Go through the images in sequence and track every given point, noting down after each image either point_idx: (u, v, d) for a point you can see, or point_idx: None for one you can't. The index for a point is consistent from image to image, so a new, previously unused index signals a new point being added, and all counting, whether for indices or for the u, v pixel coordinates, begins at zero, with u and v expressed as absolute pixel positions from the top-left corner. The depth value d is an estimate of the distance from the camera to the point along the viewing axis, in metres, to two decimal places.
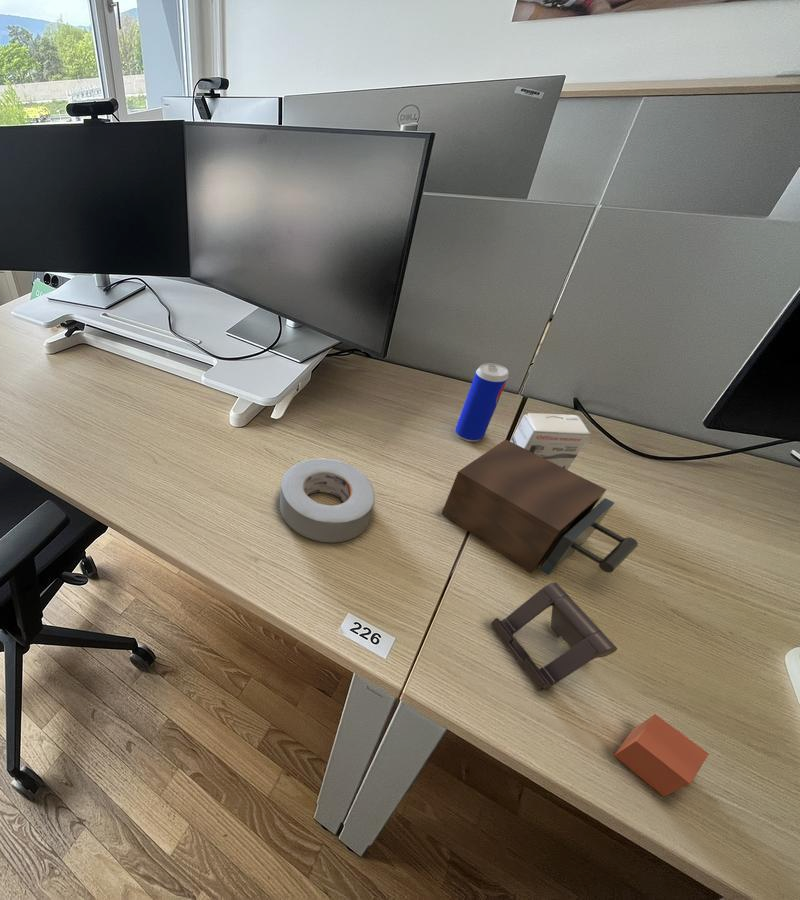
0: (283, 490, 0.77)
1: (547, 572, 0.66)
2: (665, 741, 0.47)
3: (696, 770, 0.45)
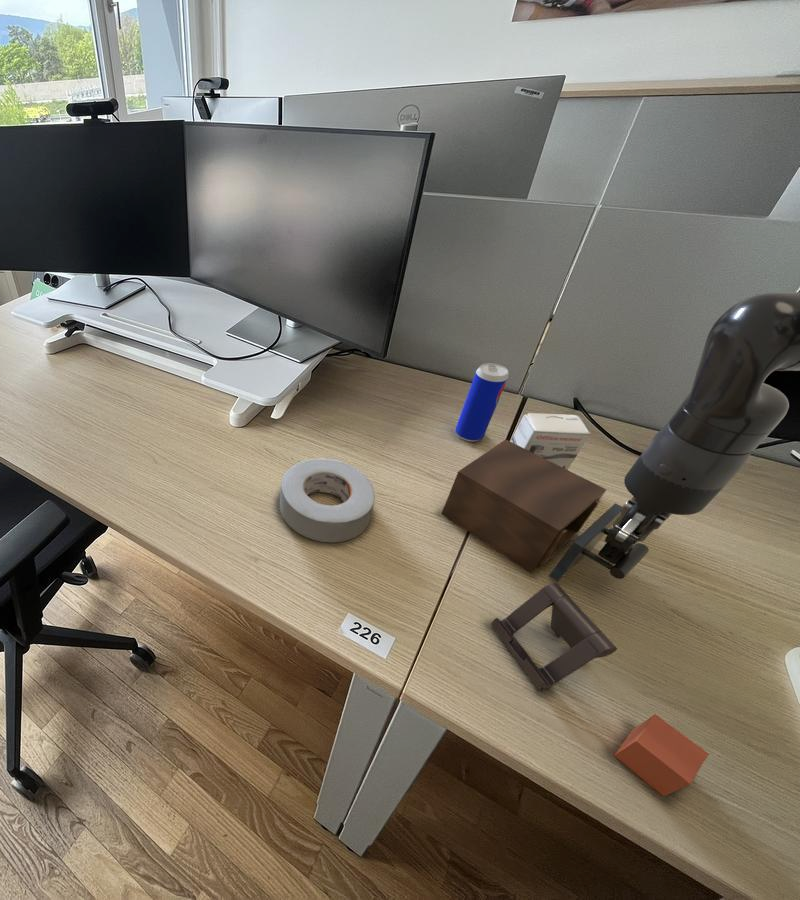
0: (283, 490, 0.77)
1: (556, 578, 0.66)
2: (665, 741, 0.47)
3: (696, 770, 0.45)
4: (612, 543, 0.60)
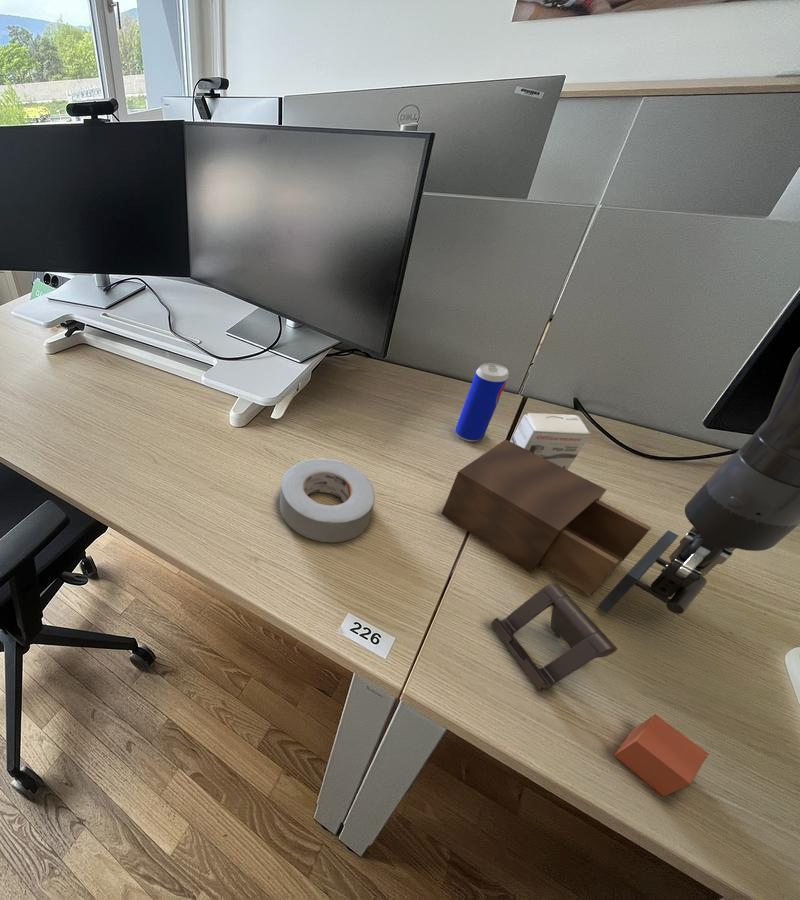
0: (283, 490, 0.77)
1: (605, 610, 0.61)
2: (665, 741, 0.47)
3: (696, 770, 0.45)
4: (669, 577, 0.56)
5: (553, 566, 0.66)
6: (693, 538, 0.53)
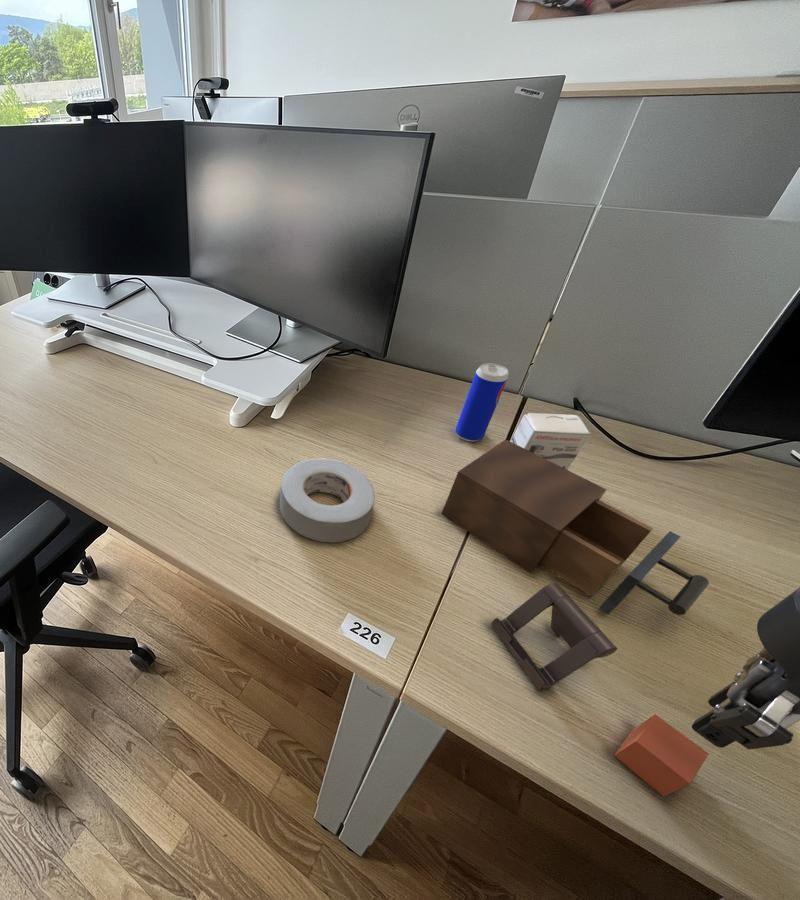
0: (283, 490, 0.77)
1: (607, 611, 0.61)
2: (665, 741, 0.47)
3: (696, 770, 0.45)
4: (724, 730, 0.38)
5: (554, 567, 0.66)
6: (770, 671, 0.36)
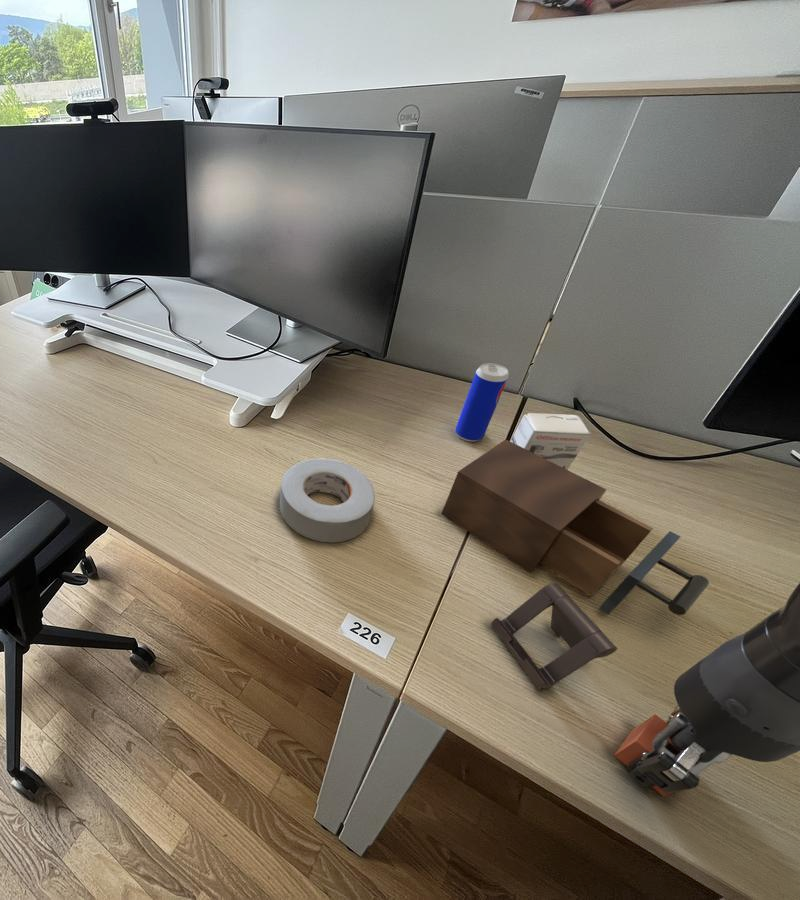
0: (283, 490, 0.77)
1: (607, 611, 0.61)
2: None
3: None
4: (647, 776, 0.45)
5: (554, 567, 0.66)
6: (684, 724, 0.43)
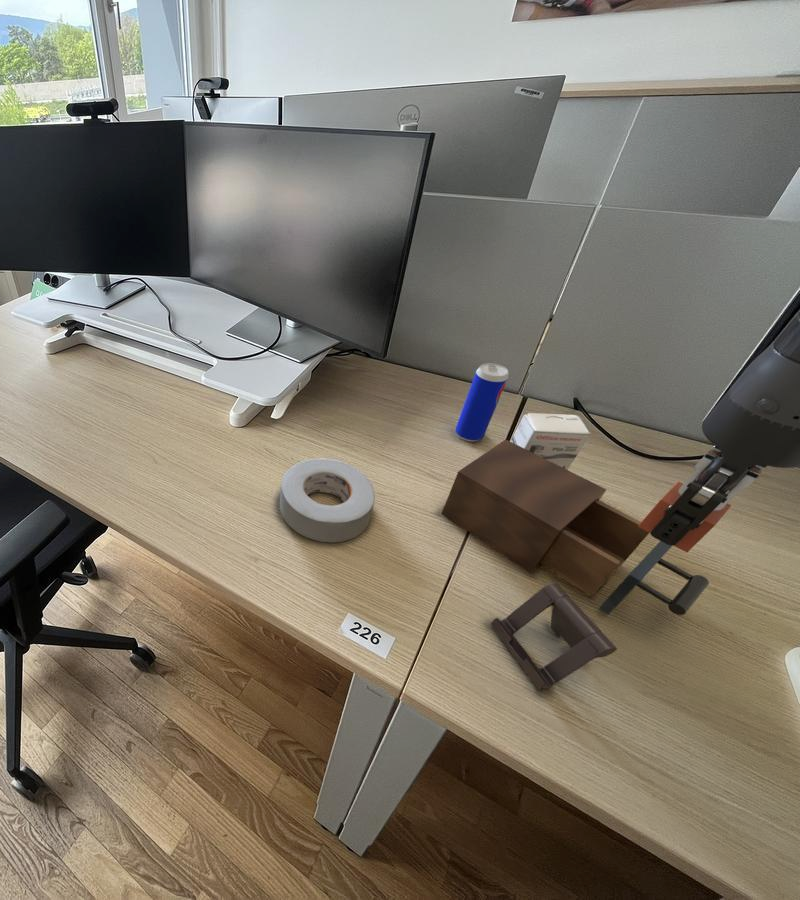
0: (283, 490, 0.77)
1: (607, 611, 0.61)
2: None
3: (720, 516, 0.47)
4: (674, 518, 0.46)
5: (554, 567, 0.66)
6: (711, 460, 0.45)
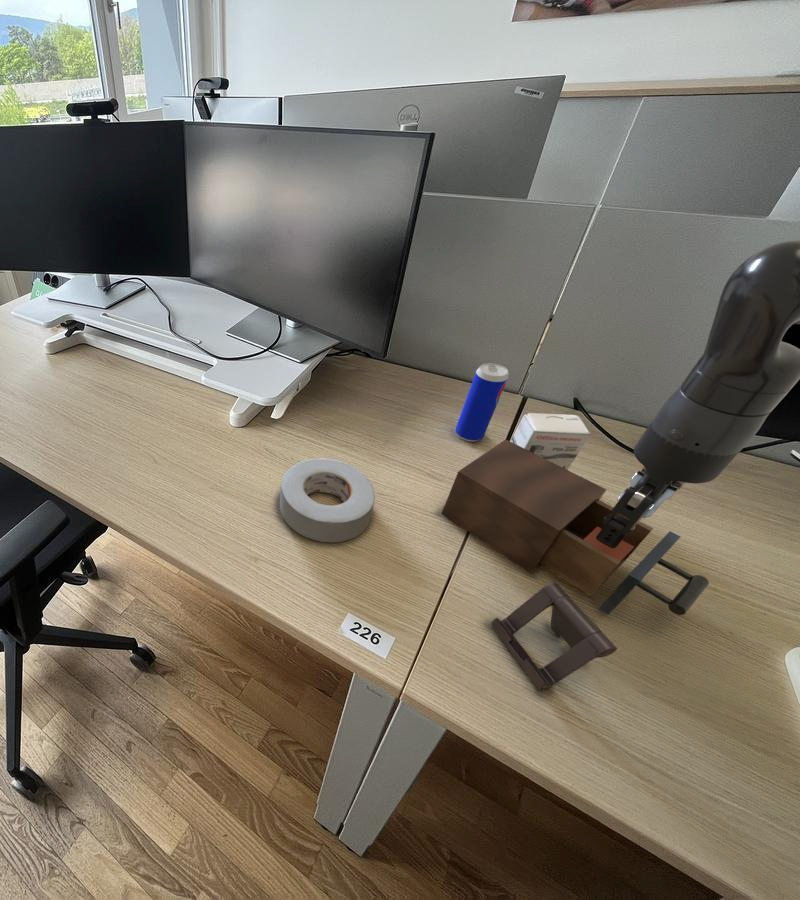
0: (283, 490, 0.77)
1: (607, 611, 0.61)
2: None
3: (624, 555, 0.62)
4: (610, 525, 0.55)
5: (554, 567, 0.66)
6: (642, 476, 0.55)
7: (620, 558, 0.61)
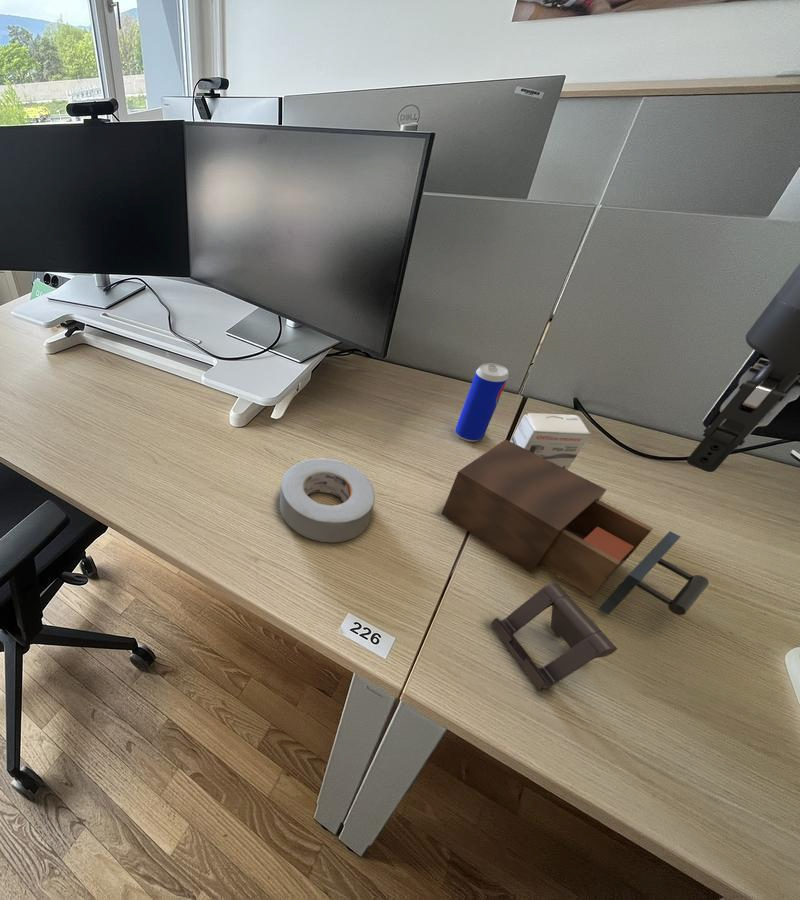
0: (283, 490, 0.77)
1: (607, 611, 0.61)
2: (603, 541, 0.64)
3: (624, 555, 0.62)
4: (715, 436, 0.43)
5: (554, 567, 0.66)
6: (756, 373, 0.43)
7: (620, 558, 0.61)
